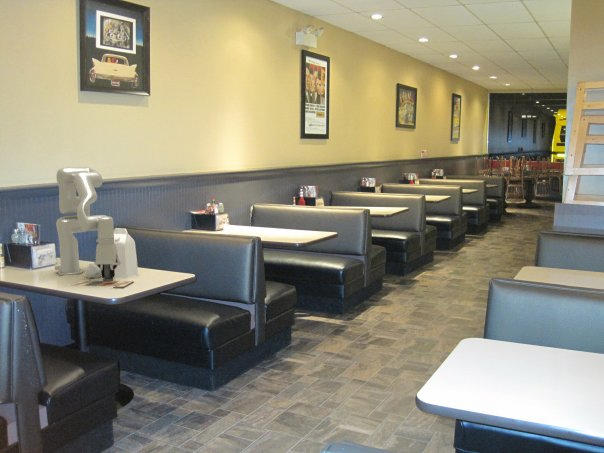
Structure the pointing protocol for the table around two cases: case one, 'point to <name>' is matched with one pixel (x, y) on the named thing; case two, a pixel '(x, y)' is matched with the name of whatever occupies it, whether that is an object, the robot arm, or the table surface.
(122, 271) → the milk
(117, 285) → the game board
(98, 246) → the robot arm
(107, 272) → the pawn
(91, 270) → the white faceted ball
